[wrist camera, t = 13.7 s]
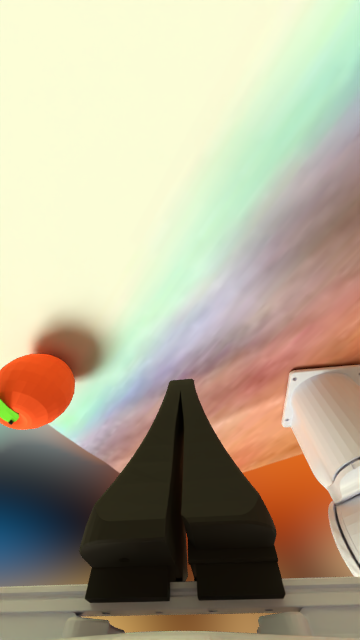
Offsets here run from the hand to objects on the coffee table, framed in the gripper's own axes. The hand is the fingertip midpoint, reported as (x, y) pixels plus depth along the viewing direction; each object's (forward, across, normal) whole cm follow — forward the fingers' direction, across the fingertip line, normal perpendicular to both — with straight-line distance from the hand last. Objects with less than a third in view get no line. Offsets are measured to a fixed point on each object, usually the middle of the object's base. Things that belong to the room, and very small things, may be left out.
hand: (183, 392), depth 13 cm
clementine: (+10, +15, +4) cm, 18 cm away
